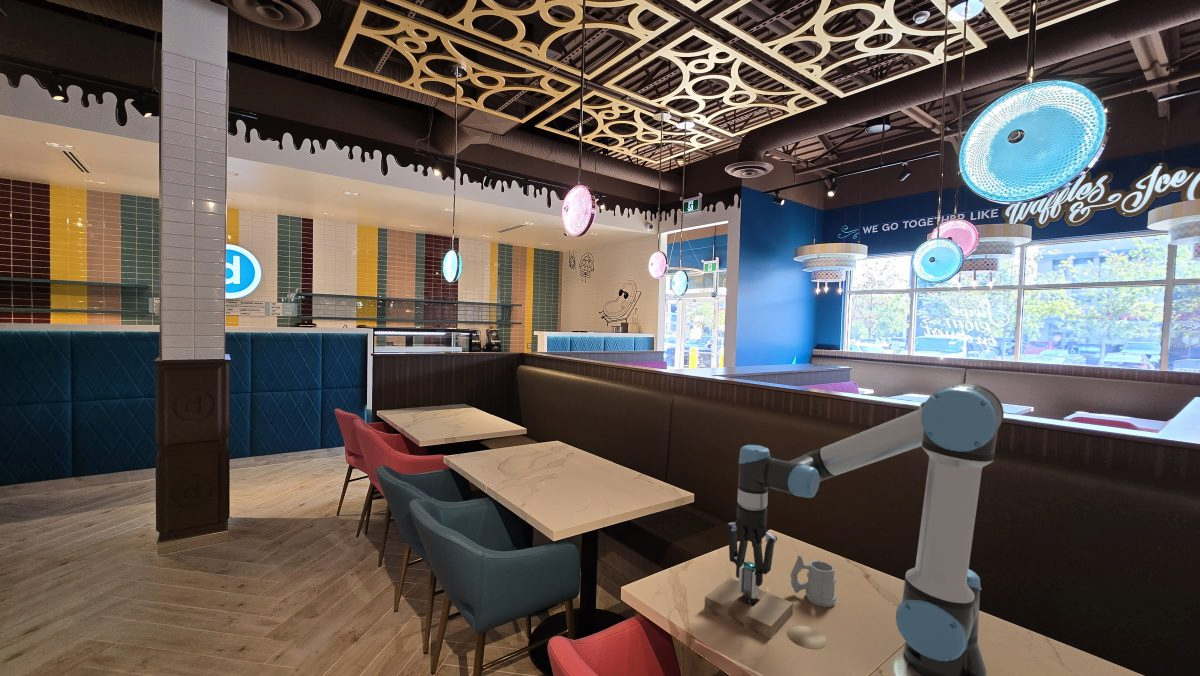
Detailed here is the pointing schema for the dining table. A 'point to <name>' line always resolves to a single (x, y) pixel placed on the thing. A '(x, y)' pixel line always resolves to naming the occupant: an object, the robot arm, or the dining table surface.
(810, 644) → the coaster
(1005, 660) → the dining table surface
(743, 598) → the peg
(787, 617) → the hole board
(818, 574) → the mug
